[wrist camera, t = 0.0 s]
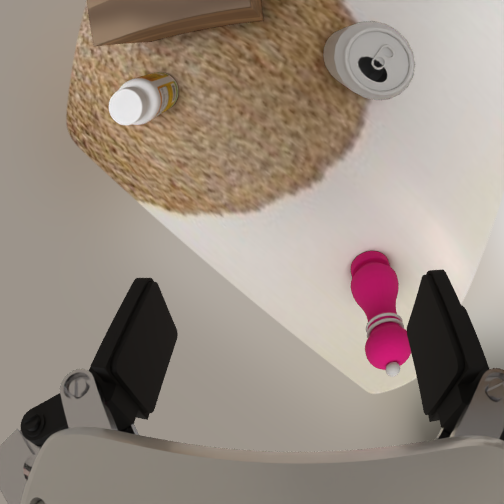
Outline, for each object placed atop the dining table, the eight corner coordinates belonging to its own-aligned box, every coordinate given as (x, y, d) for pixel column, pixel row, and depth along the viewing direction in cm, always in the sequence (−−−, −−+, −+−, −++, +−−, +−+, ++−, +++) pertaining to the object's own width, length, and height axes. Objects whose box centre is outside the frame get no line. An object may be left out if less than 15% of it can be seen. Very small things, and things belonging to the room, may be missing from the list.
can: (310, 62, 32) (319, 68, 22) (343, 16, 27) (367, 2, 18) (362, 98, 33) (390, 120, 24) (395, 53, 29) (436, 59, 19)
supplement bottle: (133, 92, 35) (93, 108, 28) (160, 63, 33) (124, 71, 25) (159, 119, 38) (126, 141, 30) (187, 92, 35) (158, 107, 27)
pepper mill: (339, 275, 50) (352, 385, 34) (362, 241, 45) (389, 352, 29) (375, 288, 50) (397, 393, 35) (399, 256, 46) (435, 363, 30)
